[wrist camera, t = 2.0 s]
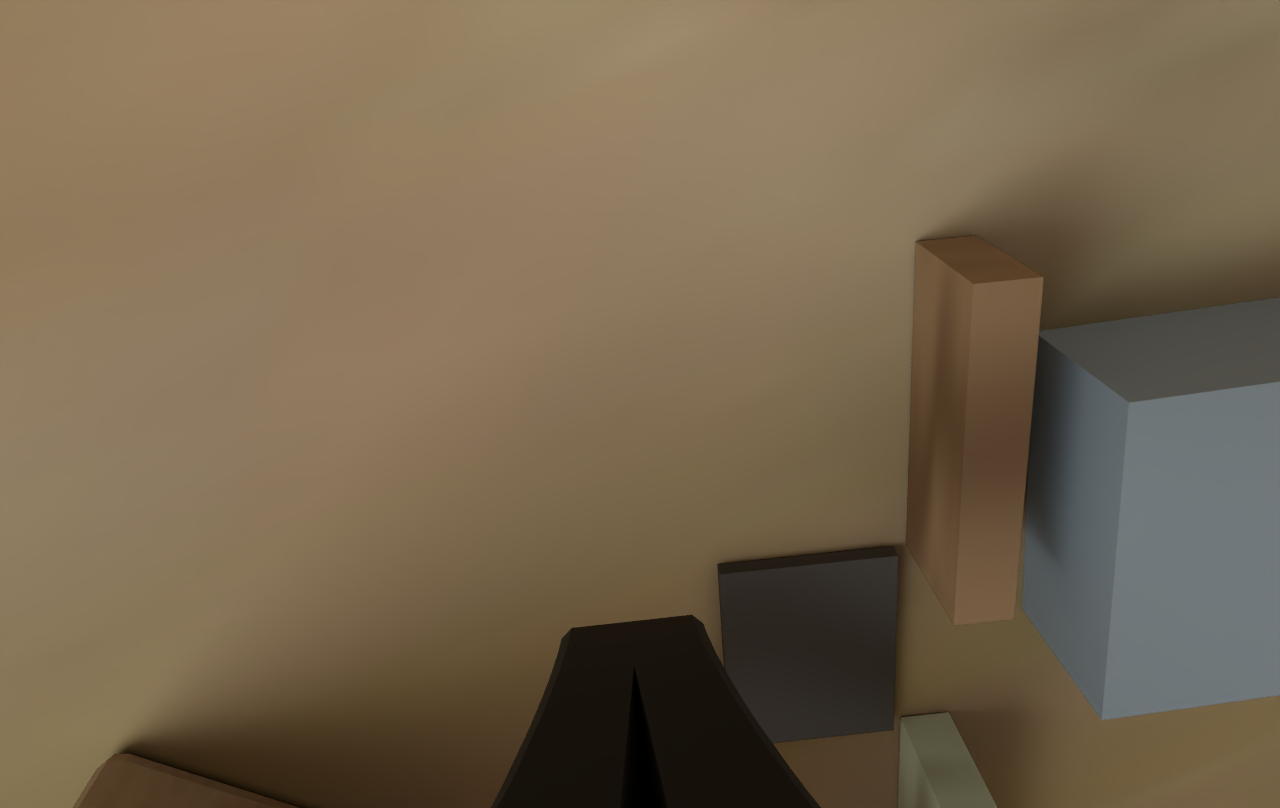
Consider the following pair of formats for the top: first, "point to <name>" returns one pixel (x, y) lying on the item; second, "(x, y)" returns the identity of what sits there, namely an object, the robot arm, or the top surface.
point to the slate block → (1158, 507)
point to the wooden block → (162, 788)
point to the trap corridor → (908, 534)
